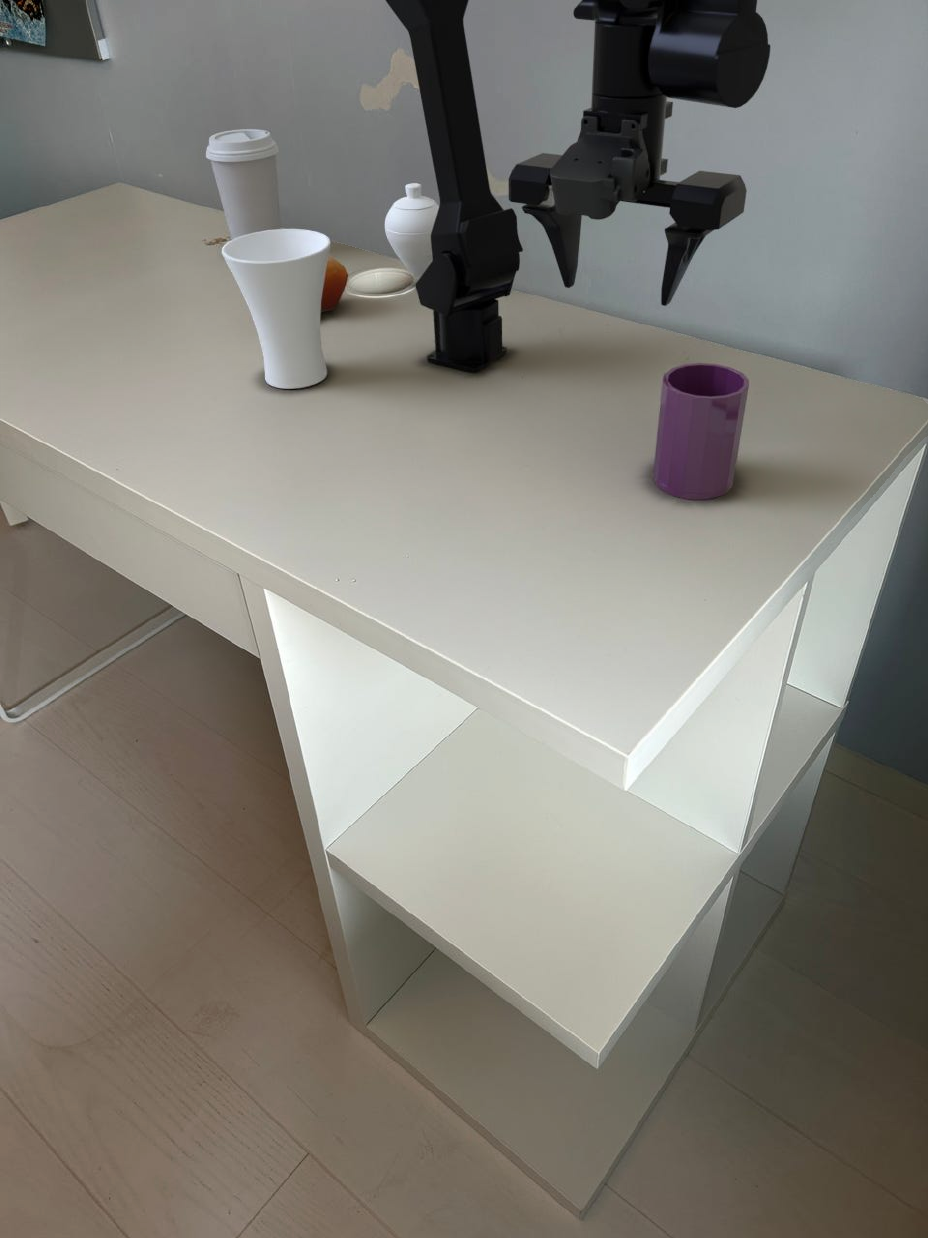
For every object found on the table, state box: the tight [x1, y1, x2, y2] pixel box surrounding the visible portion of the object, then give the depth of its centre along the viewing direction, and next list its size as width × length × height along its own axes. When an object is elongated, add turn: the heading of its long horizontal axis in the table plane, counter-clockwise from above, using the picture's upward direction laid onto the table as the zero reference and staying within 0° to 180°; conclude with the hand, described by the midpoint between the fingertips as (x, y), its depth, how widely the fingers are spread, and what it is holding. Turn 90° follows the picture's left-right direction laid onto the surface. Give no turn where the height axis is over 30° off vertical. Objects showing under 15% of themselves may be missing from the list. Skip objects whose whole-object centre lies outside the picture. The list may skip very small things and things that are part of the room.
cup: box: [221, 228, 332, 390], centre depth 96 cm, size 10×10×14 cm
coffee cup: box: [205, 128, 282, 240], centre depth 129 cm, size 10×10×15 cm
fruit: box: [321, 256, 349, 313], centre depth 113 cm, size 8×8×8 cm
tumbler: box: [652, 362, 750, 501], centre depth 78 cm, size 7×7×9 cm
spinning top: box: [384, 182, 439, 281], centre depth 117 cm, size 8×8×12 cm
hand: (616, 295), depth 82 cm, fingers open, 9 cm apart
